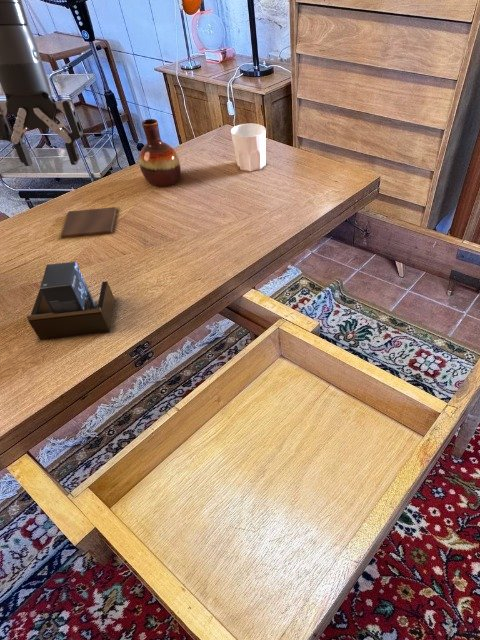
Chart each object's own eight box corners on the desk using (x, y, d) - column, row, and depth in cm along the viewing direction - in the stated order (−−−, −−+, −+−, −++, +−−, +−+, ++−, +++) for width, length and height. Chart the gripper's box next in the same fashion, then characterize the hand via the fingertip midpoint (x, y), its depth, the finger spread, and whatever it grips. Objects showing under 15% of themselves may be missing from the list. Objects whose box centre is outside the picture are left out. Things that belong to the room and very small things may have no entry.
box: (92, 329, 88) (70, 284, 79) (63, 332, 87) (37, 288, 79) (96, 304, 92) (76, 260, 84) (68, 308, 92) (45, 263, 84)
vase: (148, 173, 131) (132, 114, 119) (185, 172, 132) (173, 113, 120) (141, 190, 124) (123, 130, 112) (180, 189, 125) (167, 129, 113)
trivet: (62, 239, 109) (60, 235, 108) (70, 215, 116) (68, 211, 116) (112, 234, 110) (110, 230, 109) (116, 210, 118) (115, 207, 117)
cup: (229, 170, 132) (224, 134, 124) (244, 157, 138) (240, 121, 130) (259, 175, 129) (256, 139, 122) (273, 162, 135) (271, 126, 127)
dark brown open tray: (40, 341, 86) (26, 318, 81) (51, 308, 92) (37, 285, 87) (110, 333, 87) (99, 309, 82) (115, 300, 93) (105, 277, 89)
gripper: (66, 57, 78) (94, 159, 89) (-19, 57, 77) (20, 160, 88) (53, 61, 73) (85, 169, 83) (-38, 61, 71) (6, 170, 82)
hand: (51, 164), depth 86 cm, fingers open, 8 cm apart
